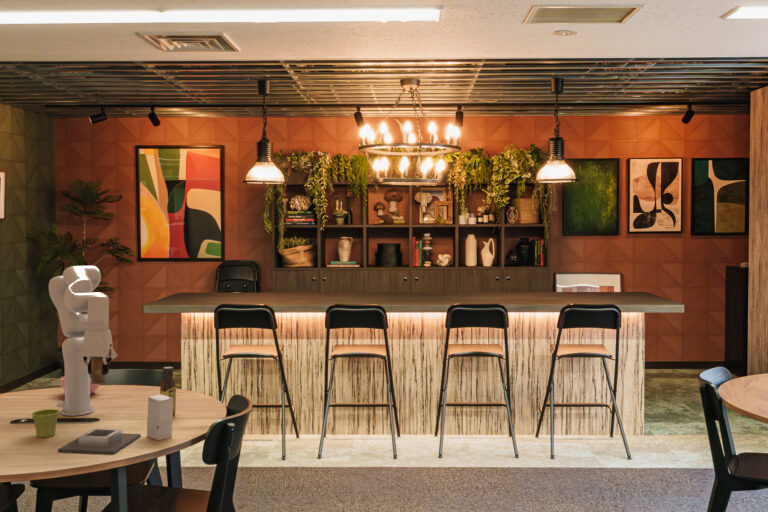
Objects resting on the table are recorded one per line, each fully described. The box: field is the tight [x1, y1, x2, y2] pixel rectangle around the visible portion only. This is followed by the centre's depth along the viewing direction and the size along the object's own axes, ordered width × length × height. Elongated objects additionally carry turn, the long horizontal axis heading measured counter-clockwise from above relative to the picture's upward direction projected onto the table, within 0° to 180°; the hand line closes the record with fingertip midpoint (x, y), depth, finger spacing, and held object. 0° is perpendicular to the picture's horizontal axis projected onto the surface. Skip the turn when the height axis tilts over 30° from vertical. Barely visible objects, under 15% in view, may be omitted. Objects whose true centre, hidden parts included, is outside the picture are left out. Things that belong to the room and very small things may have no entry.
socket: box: [57, 427, 142, 455], centre depth 242 cm, size 20×20×4 cm
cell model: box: [60, 374, 101, 395], centre depth 314 cm, size 17×20×11 cm
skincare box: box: [146, 394, 174, 441], centre depth 251 cm, size 8×6×15 cm
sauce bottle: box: [159, 366, 177, 417], centre depth 279 cm, size 6×6×20 cm
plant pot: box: [31, 408, 61, 439], centre depth 251 cm, size 9×9×9 cm
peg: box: [91, 357, 106, 385], centre depth 261 cm, size 5×5×10 cm
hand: (98, 373), depth 261 cm, fingers closed on peg, 5 cm apart
